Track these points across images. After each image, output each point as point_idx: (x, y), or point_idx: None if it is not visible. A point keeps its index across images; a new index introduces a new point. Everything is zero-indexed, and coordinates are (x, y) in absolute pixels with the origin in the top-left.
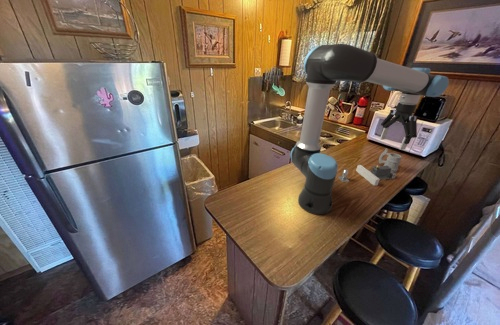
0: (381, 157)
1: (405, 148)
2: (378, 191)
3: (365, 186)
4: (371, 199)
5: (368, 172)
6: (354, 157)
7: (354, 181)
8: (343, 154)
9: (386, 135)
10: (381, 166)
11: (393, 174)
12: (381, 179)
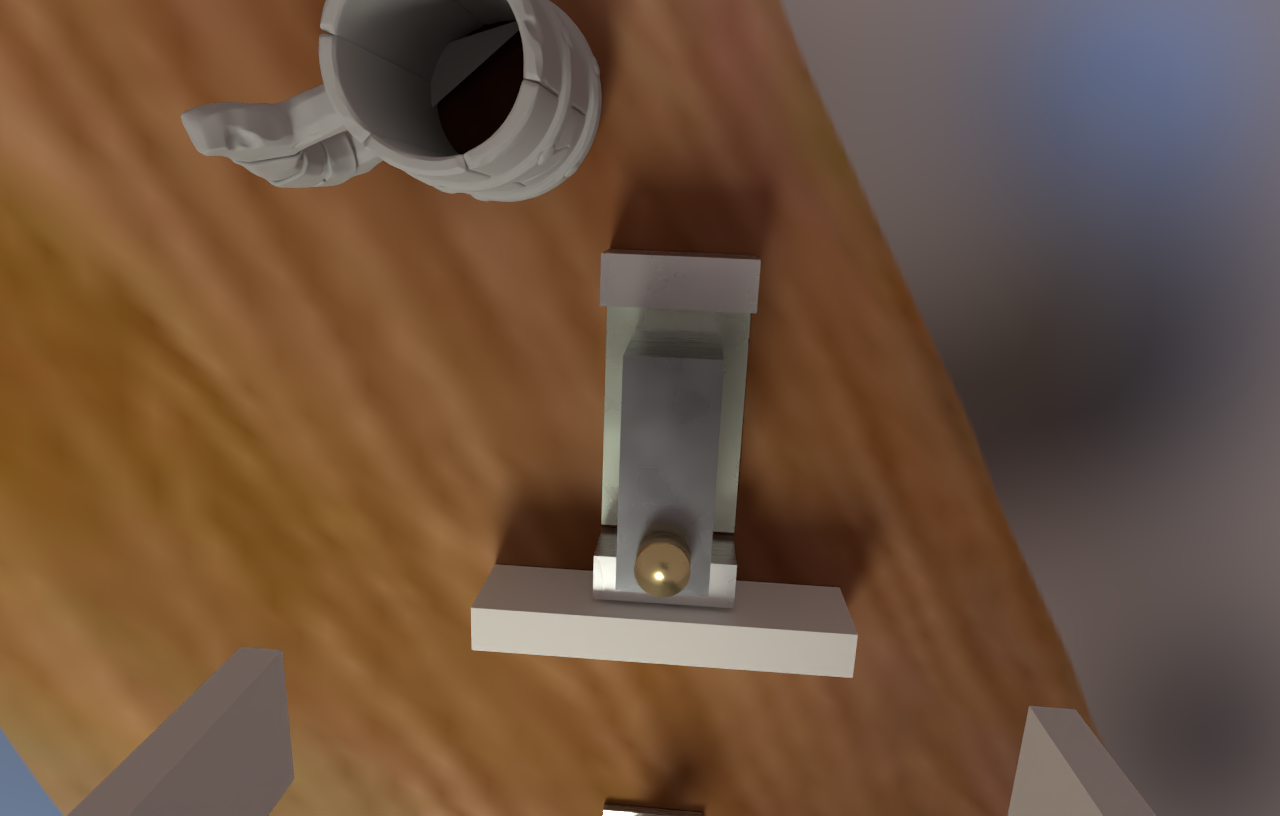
0: (308, 174)
1: (1089, 733)
2: (940, 656)
3: (824, 719)
4: None
5: (678, 650)
6: (120, 372)
7: (712, 763)
8: (27, 470)
9: (198, 744)
10: (639, 469)
11: (756, 308)
12: (739, 447)
